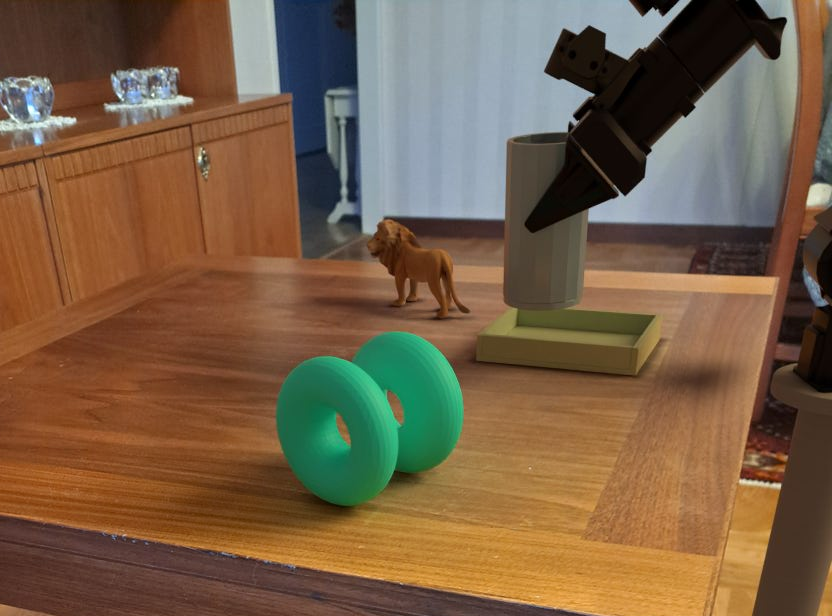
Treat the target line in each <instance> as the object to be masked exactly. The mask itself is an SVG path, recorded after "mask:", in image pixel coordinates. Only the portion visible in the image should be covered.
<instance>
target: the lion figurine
mask: <svg viewBox="0 0 832 616" xmlns="http://www.w3.org/2000/svg"><path fill="white" fill-rule="evenodd" d="M376 228H377V230H376V231H375V232H374V233H373V236H372V237H371V239H370V240H369V241H367V242H366V243H365V246H366V248H367V250H368V251H369V252H370V257H371V258H372V259H378V262H380V264H381V265H382V266H383V267H385V268H386V269H387V273H388V274H389V275H390V276H392V277H394V283H395V288H396V291H397V295H398V298H397V299H394V300H393V301H392V304H393V306H394V307H400V306H405V304H406V301H407V302H416V301H417V300H418V297H419V296H418V295H419V283H422V284H423V283H427V285H428V288H429V290H430V292H431V294H432V295H433V297H434V298H435V299H436V301H437V303H438V305H439V307H440V310H438V311H437V312H436V318H438V319H444V318H447V317H448V316H449V315H448V314H449V310H452V308H453V303H454V304H455V306H456V307H457V309H458V310H459V312H461V313H462V314H470V313H471V309H469V308H468V307H467V306H465V305H463V304H462V303H461V301H460V300H459V298H458V297H457V293H456V289H455V284H454V279H453V273H454V265H453V264H454V263H453V259H452V257H451V255H450V254H449V253H448V252H447V250H444V249H442V248H433V249H427V248H424V247H422V246H421V245H420V243H419V241H418V238H417V236H416V235H415V234H414V232H412V231H410V230H409V228H408V227H406V225H403V224H401V223H399V222H398V221H394V220H392V219H384V220H381V221H379V222H378V223H377V224H376ZM407 279H408V280H409V293H408V296H407V295H406V288H405V286H406V281H407ZM441 283H442V285H441ZM442 286H443V288H444V292H443V289H442ZM444 293H445V294H444ZM406 296H407V297H406Z"/></svg>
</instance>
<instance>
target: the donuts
mask: <svg viewBox="0 0 832 616" xmlns="http://www.w3.org/2000/svg"><path fill="white" fill-rule="evenodd" d="M442 353H443V352H441V351H440V350H439V349H438V348H437V347H436V346H435V345H434V344H432V343H431V342H429V341H428V340H426V339H425V338H423V337H421V336H419V335H416V334H414V333H411V332H407V331H399V330H398V331H397V330H393V331H385V332H383V333H380V334H377V335H374V336H373V337H372V338H370V339H369V340H368V341H366V342H365V343H363V344H362V345H361V346H360V348H359V349H358V350H357V352H356V353H355V354H354V356H353V357H352V359H351V361H349V360H346V359H344V358H340V357H336V356H333V355H331V356H330V355H324V356H323V355H322V356H316V357H312V358H309V359H306V360H303V361H302V362H301V363H299V364H298V365H296V366H295V368H293V369H292V370H291V371H290V372H289V373H288V375H287V376H286V378H285V379H284V381H283V382H282V385H281V387H280V389H279V392H278V396H277V400H276V407H275V425H276V433H277V437H278V442H279V445H280V449H281V451H282V454H283V455H284V458H285V461H286V462H287V465H288V466H289V468H290V469H291V471H292V472H293V474H294V475H295V476H296V478H297V479H298V481H300V483H301V484H302V485H303V486H304V487H305V488H306V489H307V490H309V491H310V492H311V493H312V494H314V496H316V497H318V498H319V499H321V500H322V501H325V502H326V503H330V504H332V505H338V506H343V507H352V506H358V505H363V504H365V503H367V502H369V501H371V500H373V499H374V498H376V497H377V496H378V495H380V493H381V492H383V491H384V489H385V488H386V486H387V485H388V484H389V482H390V480H391V479H392V476H393V474H394V472H395V471H396V472H400V473H405V474H406V473H407V474H419V473H424V472H428V471H429V470H430V471H431V470H432V469H434V468H436V467H438V466H439V465H441V464H442V463H443V462H444V461H446V459H447V458H448V457H449V456H450V455H451V454H452V453H453V451H454V449H455V448H456V446H457V444H458V442H459V439H460V436H461V433H462V430H463V426H464V425H463V424H464V415H465V413H464V412H465V411H464V410H465V409H464V408H465V407H464V399H463V394H462V389H461V386H460V383H459V380H458V377H457V375H456V373H455V371H454V369H453V367H452V365H451V364H450V362H449V361H448V360H447V358H446V357H445V356H444V354H442ZM388 391H390V392H391V393H393V394H394V396H396V398H397V399H398V402H400V405H401V407H402V411H403V413H402V414H403V421H402V424H400V422H398V421H397V419H396V418H395V415H394V412H393V410H392V407H391V405H390V403H389V401H388ZM337 414H338V415H339V417H340V418H341V420H342V421H343V423H344V425H345V428H346V430H347V433H348V436H349V440H350V444H349V443H347V442H346V441H345V440H344V438H343V436H342V435H341V433H340V430H339V428H338V425H337Z"/></svg>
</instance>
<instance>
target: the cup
mask: <svg viewBox="0 0 832 616" xmlns="http://www.w3.org/2000/svg"><path fill="white" fill-rule="evenodd" d="M567 134H569V135H570V136H571V137H572V138H573V136H572V135H571V132H568V131H551V132H550V131H549V132H536V133H527V134H521V135H516V136H513V137H510V138H507V140H506V154H505V155H506V159H505V165H506V166H505V195H504V196H505V200H504V201H505V203H504V241H503V242H504V243H503V244H504V245H503V249H504V250H503V282H502V285H503V287H502V295H503V299H502V300H503V303H504V304H505V305H506V306H508V307H509V308H511V307H513V308H517V309H522V310H533V311H547V310H558V309H564V308H572V307H574V306H576V305H579V304H581V302H582V301H583V298H584V297H583V296H584V283H585V269H586V256H587V255H586V254H587V240H588V228H589V226H588V225H589V211H590V208H589V209H587V210H585V211H582V212H580V213H578V214H575V215H573V216H571V217H568V218H566V219H564V220H562V221H559V222H557V223H555V224H553V225H550V226H548V227H546V228H544V229H542V230H539V231H537V232H535V233H531V232H530V231H529V230H528V229H527V228H526V227H525V226H524V223H525V221H526V219H527V218H528V216H529V215H530V213H531V212H532V210H533V209H534V208H535V206H536V205H537V203H538V202H539V200H540V199H541V197H542V196H543V195H544V193H545V192H546V190H547V189H548V187H549V186H550V185H551V183H552V182H553V180H554V179H555V177H556V176H557V174H558V173H559V172H560V170H561V169H562V167H563V165H564V163H565V148H566V137H567ZM573 139H574V138H573ZM574 140H575V139H574ZM575 142H576V140H575ZM576 143H577V142H576ZM577 144H578V143H577ZM578 145H579V144H578ZM579 146H580V145H579ZM580 147H581V146H580ZM581 148H582V147H581Z"/></svg>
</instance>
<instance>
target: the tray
mask: <svg viewBox="0 0 832 616" xmlns="http://www.w3.org/2000/svg"><path fill="white" fill-rule="evenodd" d="M663 317H664V314H662V313H649V312H637V311H634V312H633V311H619V310H607V309H606V310H605V309H593V308H591V309H590V308H578V307H577V308H576V307H568V308H564V309H558V310H547V311H533V310H522V309H517V308H513V307H509V308H508V309H507V310H506V311H504V312H503V313H502V314H501V315H499V316H498V317H497V318H496V319H495V320H493V321H492V322H491V323H490V324H488V325H487V326H486V327H485V328H484V329H482V330H481V331H480V332H478V334H477V335H476V356H475V360H476V362H484V363H485V362H487V363H496V364H506V365H507V364H508V365H519V366H527V367H529V366H530V367H538V368H539V367H540V368H550V369H561V370H571V371H572V370H573V371H580V372H581V371H582V372H593V373H601V374H603V373H604V374H613V375H625V376H634V377H635V376H637V374H638V373H639V371H640V370H641V368H642V366H643V365H644V363H645V362H646V361H647V359H648V357H649V356H650V355H651V353H652V351H653V350H654V349H655V347H656V345H657V344H658V342H659V341H660V339H661V331H662V324H663Z"/></svg>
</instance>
